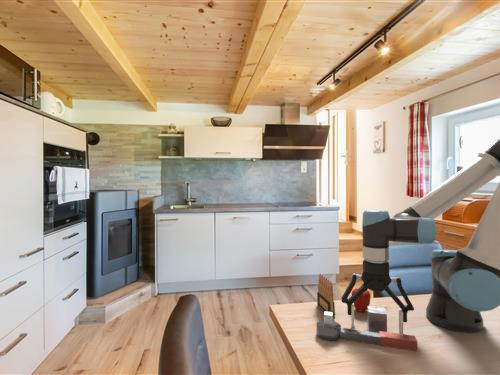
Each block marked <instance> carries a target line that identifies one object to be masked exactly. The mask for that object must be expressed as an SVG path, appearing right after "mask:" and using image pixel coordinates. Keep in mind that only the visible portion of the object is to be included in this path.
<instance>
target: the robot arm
mask: <svg viewBox="0 0 500 375" xmlns="http://www.w3.org/2000/svg"><path fill="white" fill-rule="evenodd" d="M498 177H500V136H499V137H498V138H497V139H495V140H494V141H493V142H491V143H490V144H489V145H488V146H487V147H486V148H484V149H483V150H481V151H480V152H479V153H478V154H477V158H476V159H474V160H473V161H472V162H470V163H469V164H468V165H466V166H465V167H464V168H462V169H460V170H459V171H457V172H455V174H453V175H452V176H450V177H449V178H447V179H446V180H445V181H443V182H442V183H441V184H439V185H437V186H436V187H435V188H433V189H432V190H430V192H428V193H427V194H425V195H423V196H422V197H421V198H420V199H418V200H416V201H415V202H414V203H412V204H411V205H410V206H409V207H407V208H406V209H404V210H403V211H401V212H398V213H395V214H394V215H393V216H390V212H389V211H388V210H385V209H367V210H364V211H363V212H362V223H361V224H362V226H361V229H362V233H361V234H362V258H363V259H362V274H358V273H356V272H353V273H352V274H351V280H350V282H349V284H348V285H347V287H346V289H345V291H344V292H343V294H342V296H341V301H340V302H342V304H346V305H347V306H346V308H347V315H348V316H351V318H350V319H351V322H350V323H351V328H355V307H354V302H355V301H356V300H357V299H358V298H359V297H360V296H361V295H362V294H363V293H364V292H365V291H367V290H368V291H370V292H371V291H372V292H374V291H377V292H380V293H381V292H384V291H385V293H386V294H387V295H389V297H390V298H391V299H392V300H393V301H394V303H396V304H397V306H398V307H399V308H398V332H399V334H404V323H407V322H408V313H409V311H412V312H413V311H415V308H414V305H413V304H412V301H411V300H410V298H409V296H408V294H407V293H406V291H405V289H404V287H403V285H402V279H401V277H400V276H398V275H397V276H394V277H391V276H390V262H389V261H390V242H393V243H410V244H420V245H422V244H433V243H435V240H436V237H437V227H436V223H435V221H434V220H435V219H436V218H438V217H439V216H441V215H442V214H444V213H445V212H447V211H449V210H450V209H451V208H453V207H454V206H456V205H457V204H458V203H460V202H462V201H464V199H466V198H467V197H469V196H470V195H473V194H474V193H475V192H476V191H478V190H479V189H481V188H482V187H483V186H485V185H486V184H488V183H489V182H491V181H493V180H494V179H495V178H498ZM430 261H431V262H430V264H431V266H430V267H431V295H430V298H429V300H428V303H427V305H426V309H425V316H426V318H427V320H429V321H430V322H432V323H433V324H435V325H437V326H438V327H442V328H444V329H448V330H451V331H456V332H461V333H462V332H464V333H476V332H477V333H478V332H481V331H483V330H484V327H485V326H484V318H483V315H482V313H481V312H483V313H484V312H488V311H489V312H490V311H493V310H495V309H497V308H498V307H499V306H500V181H499V182H498V185H497V186H496V188H495V190H494V192H493V194H492V196H491V198H490V201H489V202H488V204H487V206H486V208H485V210H484V212H483V214H482V215H481V218H480V220H479V221H478V224H477V226H476V228H475V230H474V231H473V233H472V235H471V238H470V240H469V242H468V243H467V245H466V246H465V247H463V248H459V249H456V250H455V249H443V248H442V249H441V248H440V249H438V248H437V249H434V250H432V251H431V257H430ZM360 280H361V281H362V282H363V283H362V284H361V286H359V287H358V288H359V289H358V288H357V289H358V290H357V291H356V292H355V293H354V294H353V295H352V291H353V290H354V287H355V285H356V283H358V282H359V281H360ZM391 283H393V284H394V285H395V286H396V288H398V290H399V293H400V295H401V296H402V298H403V299H404V302H405V303H406V304H404V303H403V302H402V301H401V299H400V298H399V297H398V296H397V295H396V293H395V292H394V291H393V290H392V289H391V287H389V286H390V284H391ZM350 294H351V296H350Z"/></svg>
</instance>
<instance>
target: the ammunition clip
mask: <svg viewBox="0 0 500 375" xmlns="http://www.w3.org/2000/svg"><path fill="white" fill-rule="evenodd" d="M317 283H318V284H317V293H316V294H317V296H316V297H317V298H316V300H317V301H316V302H317V305H316V306H318V308H319V309H320V310H321V311H323V313H324V312H325V311H326V312H333V318H335V317H336V311H335V305H336V304H335V300H334V299H335V298H334V289H333V288H334V287H333V282H332V280H331V281H330V280H329V279H328V278H326V277H325V276H323V274H322V275H321V273H319V275H318V282H317Z"/></svg>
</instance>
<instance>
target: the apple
mask: <svg viewBox="0 0 500 375" xmlns="http://www.w3.org/2000/svg"><path fill="white" fill-rule="evenodd" d="M359 288H360V287H358V288H353V289H352V291H351V296H352V295H353V294H354V293H355V292H356V291H357V290H358V289H359ZM370 304H371V291H370V290H369V289H368V290H367V291H365V292H364V293H363V294H362V295H361V296H360V297H359V298H358V299H357V300H356V301H355V302H354V310H356V311H357V312H366V311H367V312H368V306H371V305H370Z"/></svg>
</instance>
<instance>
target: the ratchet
mask: <svg viewBox="0 0 500 375" xmlns="http://www.w3.org/2000/svg"><path fill="white" fill-rule="evenodd" d="M316 336H317V337H318V338H319V339H320V340H322V341H325V342H330V343H331V342H338V341H340V340H342V341H350V342H355V343H363V344H371V345H375V346H380V347H386V348H391V349H392V348H393V349H401V350H405V351H406V350H407V351H413V352H419V351H418V349H419V348H418V344H419V343H418V340H417V338H416V336H415V335H412V334H404V333H403V334H400V333H397V332H392V331H391V332H389V331H387V332H383V331H379V333H377V332H369V330H362V329H355V328H354V329H353V328H347V327H342V326H341V324H340V323H339V322H338V321H335V320H334V317H333V312H326V311H325V312H324V311H323V319H321V320H318V321H316Z"/></svg>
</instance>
